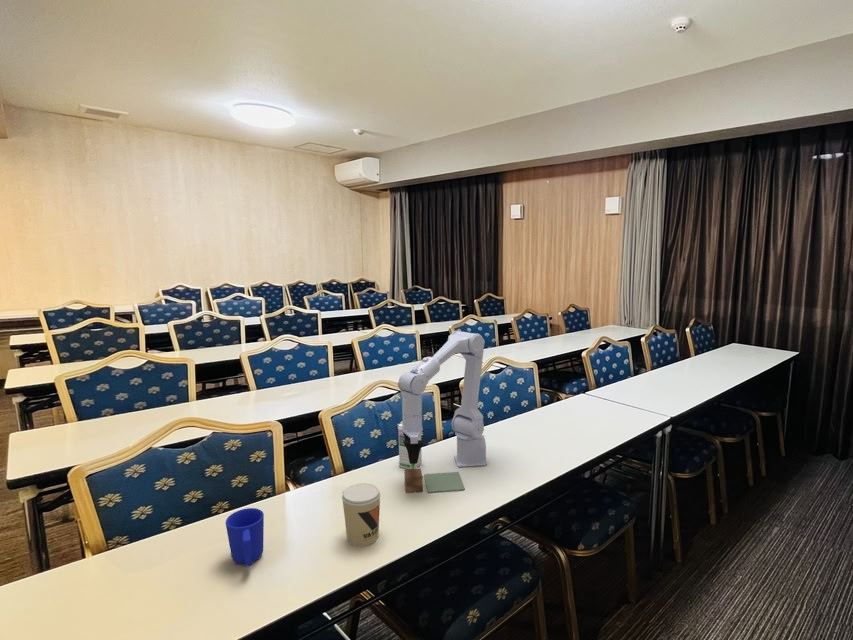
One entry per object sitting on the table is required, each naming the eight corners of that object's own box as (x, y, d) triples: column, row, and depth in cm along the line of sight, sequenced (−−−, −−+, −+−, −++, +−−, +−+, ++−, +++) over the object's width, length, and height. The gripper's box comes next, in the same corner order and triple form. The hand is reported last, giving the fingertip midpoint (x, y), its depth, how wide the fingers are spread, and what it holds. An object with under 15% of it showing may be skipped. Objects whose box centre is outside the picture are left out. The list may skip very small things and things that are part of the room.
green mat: (458, 472, 148) (458, 471, 148) (465, 490, 137) (465, 489, 137) (424, 475, 146) (424, 474, 146) (428, 493, 136) (428, 491, 136)
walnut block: (421, 483, 141) (420, 468, 141) (422, 492, 136) (422, 476, 136) (404, 485, 141) (404, 469, 140) (405, 493, 136) (405, 477, 135)
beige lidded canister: (365, 553, 109) (363, 505, 107) (335, 540, 114) (333, 495, 112) (389, 532, 117) (387, 488, 115) (360, 522, 122) (358, 479, 120)
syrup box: (398, 467, 152) (397, 425, 150) (407, 460, 157) (406, 419, 155) (413, 471, 150) (412, 428, 147) (422, 463, 155) (421, 421, 153)
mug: (229, 584, 100) (225, 541, 98) (228, 551, 111) (225, 512, 109) (269, 573, 103) (266, 531, 101) (265, 542, 114) (262, 504, 112)
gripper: (397, 405, 142) (397, 448, 144) (399, 422, 128) (400, 469, 130) (420, 405, 143) (420, 447, 145) (425, 421, 129) (425, 467, 131)
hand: (412, 457), depth 137 cm, fingers open, 7 cm apart
